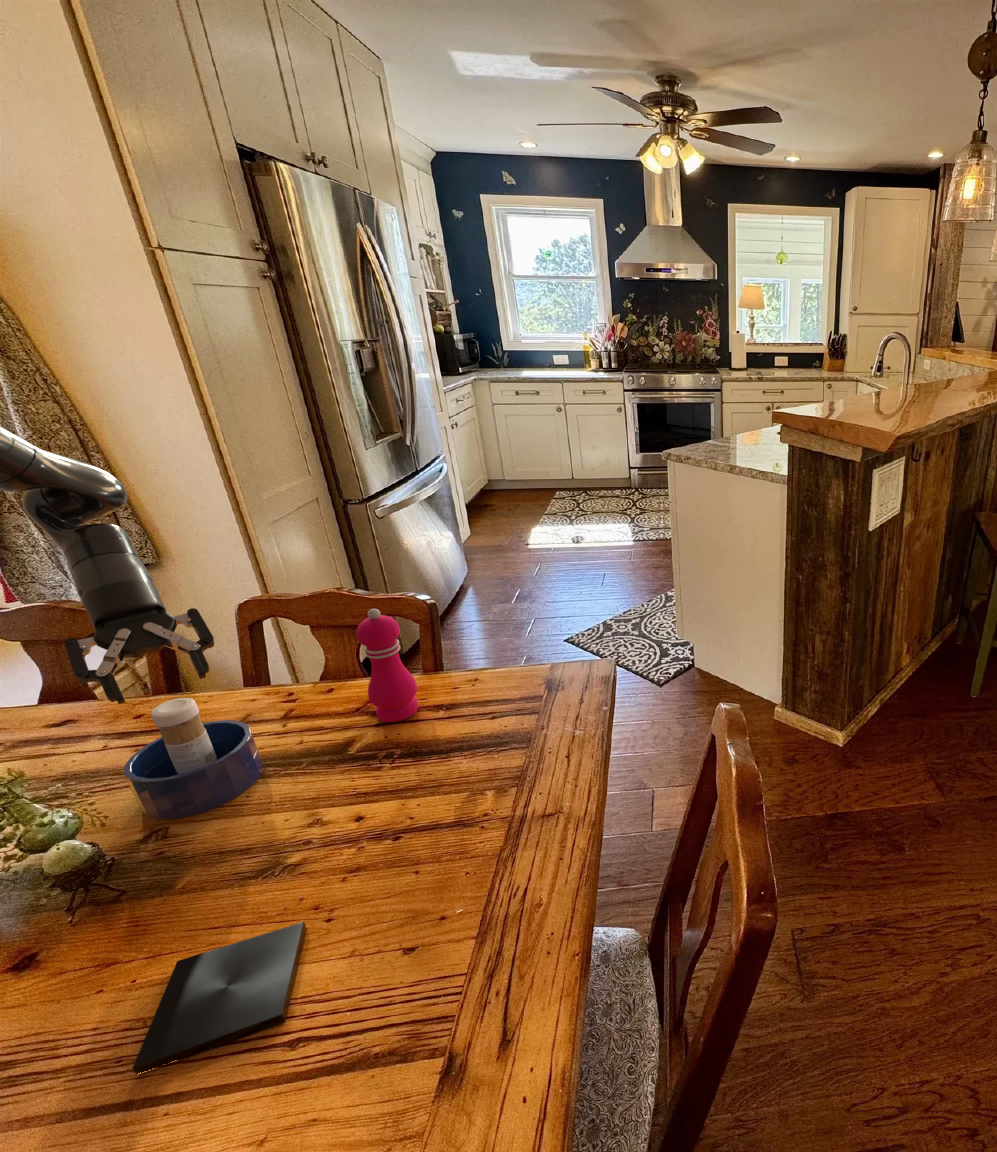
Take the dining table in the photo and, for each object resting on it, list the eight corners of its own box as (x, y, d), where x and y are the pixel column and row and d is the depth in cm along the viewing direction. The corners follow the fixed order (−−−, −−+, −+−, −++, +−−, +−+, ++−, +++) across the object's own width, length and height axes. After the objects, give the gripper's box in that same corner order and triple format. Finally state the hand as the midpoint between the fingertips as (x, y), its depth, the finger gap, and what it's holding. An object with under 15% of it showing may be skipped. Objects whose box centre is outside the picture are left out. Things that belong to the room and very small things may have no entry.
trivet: (136, 1076, 55) (131, 1068, 55) (180, 968, 64) (176, 960, 64) (285, 1022, 60) (282, 1014, 59) (307, 928, 69) (304, 921, 68)
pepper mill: (393, 698, 110) (368, 598, 102) (430, 702, 109) (408, 601, 101) (364, 722, 103) (334, 617, 96) (403, 727, 102) (377, 621, 95)
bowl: (123, 831, 81) (104, 793, 78) (162, 768, 92) (147, 733, 89) (250, 801, 86) (236, 765, 84) (272, 745, 97) (260, 711, 95)
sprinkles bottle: (202, 772, 91) (170, 695, 86) (233, 772, 91) (203, 696, 86) (174, 794, 87) (139, 715, 81) (206, 795, 87) (173, 716, 81)
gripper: (186, 589, 96) (228, 677, 94) (52, 619, 85) (96, 719, 83) (182, 566, 91) (226, 659, 89) (38, 595, 80) (85, 702, 78)
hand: (163, 688), depth 86 cm, fingers open, 8 cm apart
